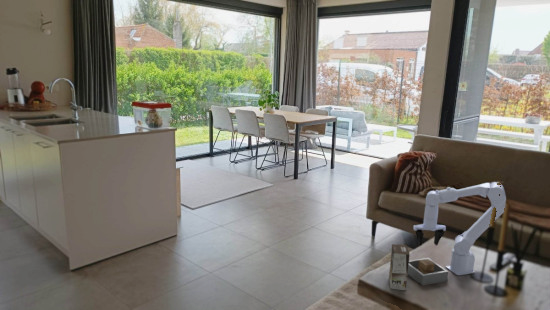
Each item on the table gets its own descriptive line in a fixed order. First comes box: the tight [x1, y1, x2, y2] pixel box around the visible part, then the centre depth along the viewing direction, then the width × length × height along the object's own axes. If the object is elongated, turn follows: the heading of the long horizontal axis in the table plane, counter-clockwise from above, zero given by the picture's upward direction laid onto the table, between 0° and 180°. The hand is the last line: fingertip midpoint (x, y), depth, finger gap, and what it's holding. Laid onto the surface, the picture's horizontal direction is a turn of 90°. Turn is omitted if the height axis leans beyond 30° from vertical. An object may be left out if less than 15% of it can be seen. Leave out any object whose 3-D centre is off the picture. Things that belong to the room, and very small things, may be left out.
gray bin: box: [407, 257, 449, 286], centre depth 174 cm, size 13×13×4 cm
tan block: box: [418, 259, 434, 274], centre depth 174 cm, size 4×4×6 cm
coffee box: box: [388, 243, 411, 291], centre depth 166 cm, size 9×6×16 cm
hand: (427, 244), depth 184 cm, fingers open, 7 cm apart
